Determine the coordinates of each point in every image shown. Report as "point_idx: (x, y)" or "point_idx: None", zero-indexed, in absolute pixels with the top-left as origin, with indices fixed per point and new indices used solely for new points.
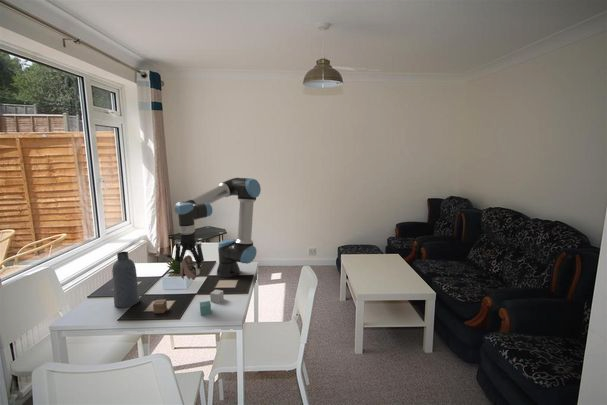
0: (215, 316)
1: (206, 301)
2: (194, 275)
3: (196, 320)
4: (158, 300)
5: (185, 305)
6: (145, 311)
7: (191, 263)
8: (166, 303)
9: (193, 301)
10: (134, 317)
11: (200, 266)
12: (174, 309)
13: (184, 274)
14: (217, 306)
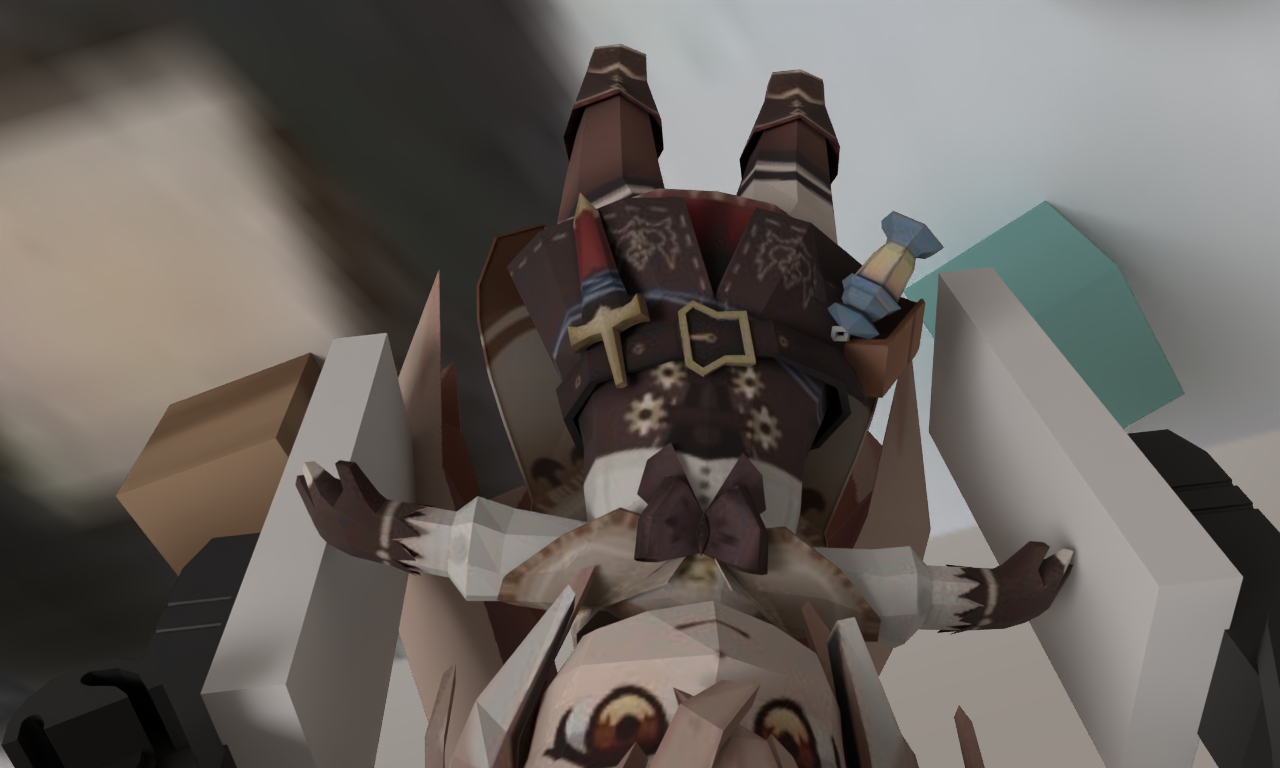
0: (1195, 355)
1: (1064, 306)
2: (904, 488)
3: (964, 504)
4: (173, 502)
5: (546, 191)
6: (84, 513)
7: (785, 624)
8: (295, 403)
9: (592, 7)
10: (103, 657)
11: (1223, 493)
12: (461, 353)
13: (436, 392)
14: (1137, 65)
